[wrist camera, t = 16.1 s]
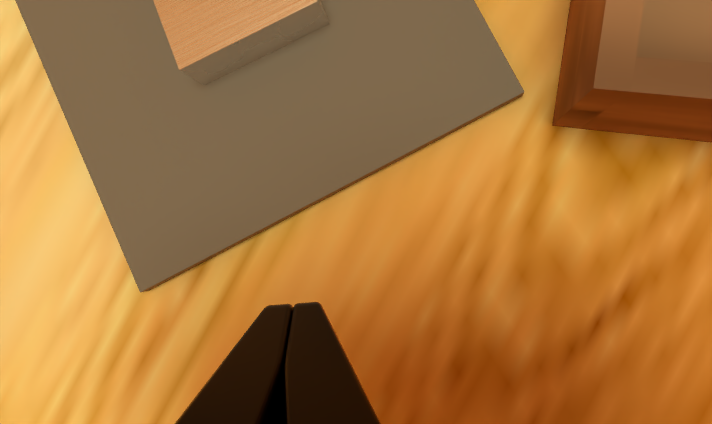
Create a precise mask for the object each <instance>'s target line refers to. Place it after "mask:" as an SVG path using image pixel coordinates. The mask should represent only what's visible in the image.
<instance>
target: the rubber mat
mask: <svg viewBox="0 0 712 424" xmlns="http://www.w3.org/2000/svg"><path fill="white" fill-rule="evenodd" d="M15 1H16V3H17V5H18V8H19V10H20V12H21V15H22V17H23V19H24V22H25V24H26V26H27V29H28V31H29V33H30V36H31V38H32V40H33V43H34V45H35V47H36V50H37V52H38V54H39V57H40V59H41V61H42V64H43V66H44V68H45V71H46V73H47V75H48V78H49V80H50V82H51V85H52V87H53V90H54V92H55V94H56V97H57V99H58V101H59V104H60V106H61V108H62V111H63V113H64V115H65V118H66V120H67V122H68V125H69V127H70V129H71V132H72V134H73V136H74V139H75V141H76V143H77V146H78V148H79V150H80V153H81V155H82V157H83V160H84V162H85V164H86V167H87V169H88V171H89V174H90V176H91V178H92V181H93V183H94V185H95V188H96V190H97V193H98V195H99V197H100V200H101V202H102V204H103V207H104V209H105V211H106V214H107V216H108V218H109V221H110V223H111V225H112V228H113V230H114V232H115V235H116V237H117V239H118V242H119V244H120V246H121V249H122V251H123V253H124V256H125V258H126V260H127V263H128V265H129V267H130V270H131V272H132V274H133V277H134V279H135V281H136V284H137V286H138V288H139V291H140V292H144V291H149V290H151V289H152V288H154V287H156V286H158V285H160V284H162V283H164V282H166V281H168V280H170V279H172V278H174V277H175V276H177V275H179V274H181V273H183V272H185V271H187V270H189V269H191V268H193V267H195V266H197V265H199V264H200V263H202V262H204V261H206V260H208V259H210V258H212V257H214V256H216V255H218V254H220V253H222V252H224V251H225V250H227V249H229V248H231V247H233V246H235V245H237V244H239V243H241V242H243V241H245V240H247V239H248V238H250V237H252V236H254V235H256V234H258V233H260V232H262V231H264V230H266V229H268V228H270V227H272V226H273V225H275V224H277V223H279V222H281V221H283V220H285V219H287V218H289V217H291V216H293V215H295V214H297V213H298V212H300V211H302V210H304V209H306V208H308V207H310V206H312V205H314V204H316V203H318V202H320V201H321V200H323V199H325V198H327V197H329V196H331V195H333V194H335V193H337V192H339V191H341V190H343V189H345V188H346V187H348V186H350V185H352V184H354V183H356V182H358V181H360V180H362V179H364V178H366V177H368V176H370V175H371V174H373V173H375V172H377V171H379V170H381V169H383V168H385V167H387V166H389V165H391V164H393V163H394V162H396V161H398V160H400V159H402V158H404V157H406V156H408V155H410V154H412V153H414V152H416V151H418V150H419V149H421V148H423V147H425V146H427V145H429V144H431V143H433V142H435V141H437V140H439V139H441V138H443V137H444V136H446V135H448V134H450V133H452V132H454V131H456V130H458V129H460V128H462V127H464V126H466V125H467V124H469V123H471V122H473V121H475V120H477V119H479V118H481V117H483V116H485V115H487V114H489V113H491V112H492V111H494V110H496V109H498V108H500V107H502V106H504V105H506V104H508V103H510V102H512V101H514V100H515V99H517V98H519V97H521V96H522V95H523V93H524V90H523V89H522V87H521V85H520V83H519V81H518V79H517V78H516V76H515V74H514V72H513V70H512V69H511V67H510V65H509V63H508V61H507V59H506V58H505V56H504V54H503V52H502V50H501V49H500V47H499V45H498V43H497V41H496V39H495V38H494V36H493V34H492V32H491V30H490V29H489V27H488V25H487V23H486V21H485V19H484V18H483V16H482V14H481V12H480V10H479V9H478V7H477V5H476V3H475V1H474V0H320V1H321V3H322V6H323V8H324V11H325V13H326V16H327V18H328V20H329V23H330V24H329V25H327V26H325V27H323V28H321V29H319V30H316V31H314V32H312V33H310V34H308V35H306V36H304V37H302V38H300V39H298V40H296V41H294V42H292V43H290V44H288V45H286V46H284V47H282V48H280V49H278V50H276V51H273V52H271V53H269V54H267V55H265V56H263V57H261V58H259V59H257V60H255V61H253V62H251V63H249V64H247V65H245V66H243V67H241V68H239V69H237V70H235V71H232V72H230V73H228V74H226V75H224V76H222V77H220V78H218V79H216V80H214V81H212V82H210V83H208V84H206V85H203V84H202V83H200V82H198V81H197V80H195V79H193V78H192V77H190V76H188V75H187V74H185V73H183V72H182V71H180V70H179V68H178V65H177V63H176V60H175V57H174V55H173V52H172V49H171V47H170V44H169V41H168V39H167V36H166V33H165V31H164V28H163V25H162V23H161V20H160V17H159V15H158V12H157V9H156V6H155V4H154V1H153V0H15Z"/></svg>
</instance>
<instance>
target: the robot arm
mask: <svg viewBox="0 0 712 424" xmlns="http://www.w3.org/2000/svg"><path fill="white" fill-rule="evenodd" d="M175 424H380V422H379V420H378V418H377V416H376V414H375V412H374V410H373V408H372V406H371V404H370V402H369V400H368V398H367V396H366V394H365V392H364V390H363V388H362V385H361V383H360V381H359V379H358V377H357V375H356V373H355V371H354V369H353V367H352V365H351V363H350V361H349V359H348V357H347V355H346V353H345V351H344V349H343V347H342V345H341V343H340V341H339V339H338V337H337V335H336V333H335V331H334V329H333V327H332V325H331V323H330V321H329V319H328V317H327V315H326V313H325V311H324V309H323V307H322V305H321V304H320V303H318V302H311V303H298V304H296V305H295V306H294V307H293V306H292V305H290V304H283V305H270V306H267V307H266V308H264V310H263V311H262V312H261V313H260V315H259V316H258V317H257V319H256V320H255V321H254V322H253V324H252V325H251V326H250V328H249V329H248V330H247V331H246V333H245V334H244V335H243V337H242V338H241V339H240V340H239V342H238V343H237V344H236V346H235V347H234V348H233V349H232V351H231V352H230V353H229V355H228V356H227V357H226V358H225V360H224V361H223V362H222V364H221V365H220V366H219V368H218V369H217V370H216V371H215V373H214V374H213V375H212V377H211V378H210V379H209V380H208V382H207V383H206V384H205V386H204V387H203V388H202V389H201V391H200V392H199V393H198V395H197V396H196V397H195V398H194V400H193V401H192V402H191V404H190V405H189V406H188V407H187V409H186V410H185V411H184V413H183V414H182V415H181V417H180V418H179V419H178V420H177V422H176V423H175Z"/></svg>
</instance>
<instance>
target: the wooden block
mask: <svg viewBox="0 0 712 424" xmlns="http://www.w3.org/2000/svg"><path fill="white" fill-rule="evenodd" d="M153 1H154V4H155V6H156V9H157V12H158V15H159V17H160V20H161V23H162V25H163V28H164V31H165V33H166V36H167V39H168V41H169V44H170V47H171V49H172V52H173V55H174V57H175V60H176V63H177V65H178V68H179V70H180V71H182V72H183V73H185V74H187V75H188V76H190V77H192V78H193V79H195V80H197V81H198V82H200V83H202V84H203V85H206V84H208V83H210V82H212V81H214V80H216V79H218V78H220V77H222V76H224V75H226V74H228V73H230V72H232V71H235V70H237V69H239V68H241V67H243V66H245V65H247V64H249V63H251V62H253V61H255V60H257V59H259V58H261V57H263V56H265V55H267V54H269V53H271V52H273V51H276V50H278V49H280V48H282V47H284V46H286V45H288V44H290V43H292V42H294V41H296V40H298V39H300V38H302V37H304V36H306V35H308V34H310V33H312V32H314V31H316V30H319V29H321V28H323V27H325V26H327V25H329V24H330V23H329V20H328V18H327V16H326V13H325V11H324V8H323V6H322V3H321V1H320V0H153Z"/></svg>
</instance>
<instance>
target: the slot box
mask: <svg viewBox="0 0 712 424" xmlns="http://www.w3.org/2000/svg"><path fill="white" fill-rule="evenodd" d="M553 125H554V126H563V127H572V128H582V129H591V130H601V131H610V132H620V133H629V134H639V135H648V136H658V137H667V138H677V139H686V140H696V141H705V142H712V0H571V2H570V9H569V16H568V23H567V30H566V37H565V43H564V50H563V57H562V64H561V71H560V78H559V84H558V91H557V98H556V105H555V112H554V119H553Z"/></svg>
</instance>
